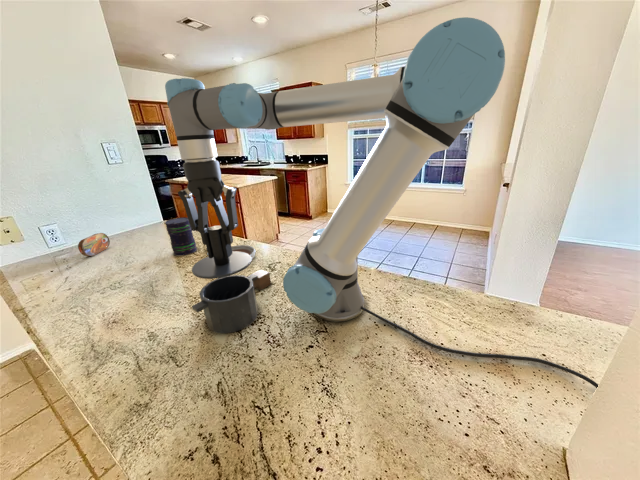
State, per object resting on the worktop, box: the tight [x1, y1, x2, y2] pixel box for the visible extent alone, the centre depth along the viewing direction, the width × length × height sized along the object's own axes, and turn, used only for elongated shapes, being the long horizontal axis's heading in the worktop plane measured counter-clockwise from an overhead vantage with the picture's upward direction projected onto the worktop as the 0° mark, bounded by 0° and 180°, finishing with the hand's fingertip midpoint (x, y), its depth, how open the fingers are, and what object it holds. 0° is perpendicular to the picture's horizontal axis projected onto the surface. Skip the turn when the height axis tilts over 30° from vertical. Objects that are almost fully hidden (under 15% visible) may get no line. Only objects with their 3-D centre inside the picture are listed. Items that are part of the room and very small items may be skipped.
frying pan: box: [205, 244, 257, 260], centre depth 114 cm, size 17×3×28 cm
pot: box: [191, 273, 259, 334], centre depth 72 cm, size 14×19×10 cm
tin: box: [77, 232, 111, 257], centre depth 125 cm, size 15×3×8 cm, turn 179°
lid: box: [191, 225, 253, 280], centre depth 66 cm, size 15×15×11 cm
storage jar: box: [164, 216, 198, 257], centre depth 119 cm, size 10×10×15 cm
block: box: [252, 269, 272, 291], centre depth 88 cm, size 4×4×4 cm
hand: (221, 255), depth 67 cm, fingers closed on lid, 4 cm apart
